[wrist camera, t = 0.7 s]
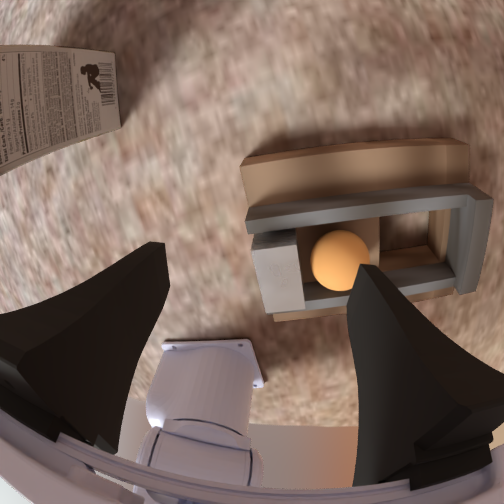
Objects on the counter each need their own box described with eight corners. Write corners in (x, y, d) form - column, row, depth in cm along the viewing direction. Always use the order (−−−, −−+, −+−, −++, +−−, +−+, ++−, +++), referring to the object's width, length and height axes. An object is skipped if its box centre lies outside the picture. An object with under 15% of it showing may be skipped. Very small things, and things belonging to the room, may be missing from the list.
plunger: (268, 284, 20) (265, 313, 17) (255, 226, 18) (250, 251, 15) (303, 279, 20) (305, 309, 17) (294, 220, 18) (296, 244, 15)
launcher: (275, 301, 24) (272, 351, 19) (244, 158, 18) (230, 181, 14) (441, 276, 21) (467, 318, 17) (451, 138, 16) (496, 156, 11)
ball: (311, 272, 19) (315, 307, 16) (304, 224, 18) (309, 253, 15) (362, 265, 19) (375, 298, 16) (361, 216, 17) (377, 244, 14)
